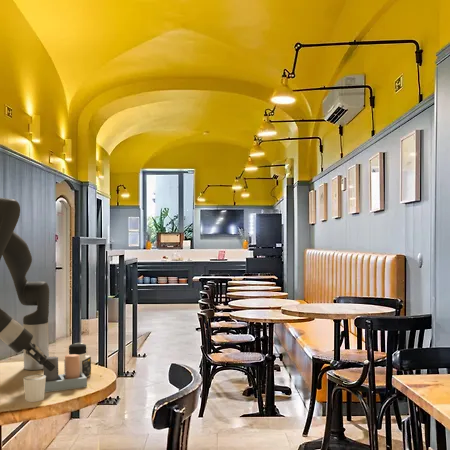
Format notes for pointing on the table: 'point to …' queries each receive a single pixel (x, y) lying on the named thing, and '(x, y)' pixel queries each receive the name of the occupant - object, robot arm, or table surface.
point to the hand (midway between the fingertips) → (51, 366)
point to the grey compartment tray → (68, 376)
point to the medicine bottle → (81, 358)
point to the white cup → (34, 387)
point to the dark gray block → (54, 373)
